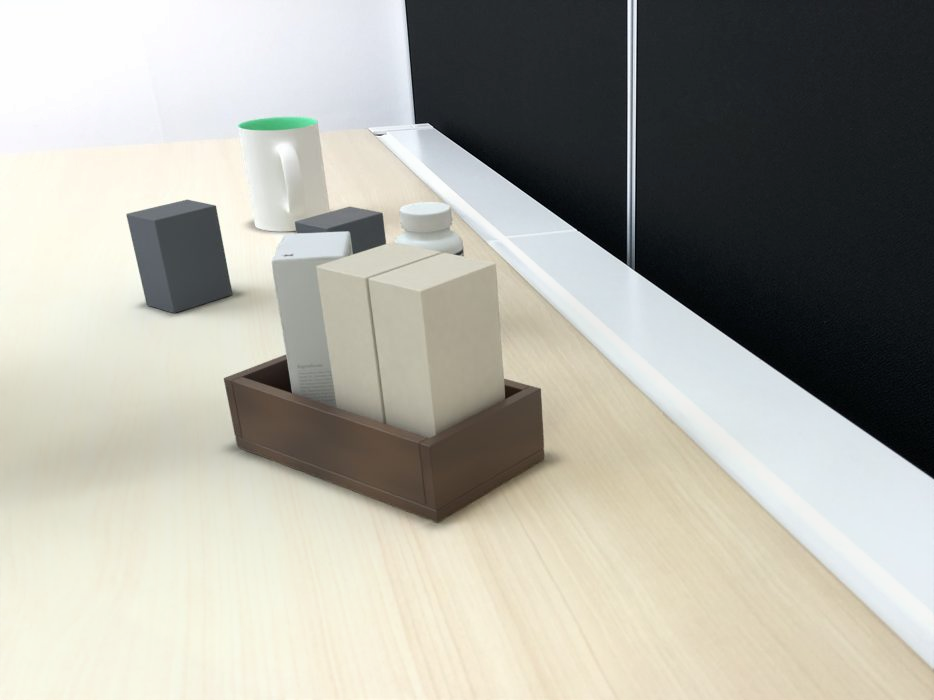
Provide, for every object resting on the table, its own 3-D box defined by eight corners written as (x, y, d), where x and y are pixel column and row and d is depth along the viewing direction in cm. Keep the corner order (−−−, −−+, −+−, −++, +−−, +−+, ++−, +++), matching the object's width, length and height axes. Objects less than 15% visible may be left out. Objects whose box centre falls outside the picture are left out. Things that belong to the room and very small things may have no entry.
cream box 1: (343, 456, 67) (315, 265, 62) (413, 422, 72) (392, 241, 66) (390, 473, 65) (365, 277, 60) (458, 437, 70) (441, 251, 64)
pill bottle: (390, 332, 89) (376, 212, 85) (425, 312, 94) (413, 197, 89) (448, 340, 87) (437, 218, 83) (481, 319, 92) (472, 202, 87)
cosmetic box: (370, 443, 69) (344, 256, 64) (300, 448, 68) (268, 260, 63) (374, 404, 74) (351, 229, 69) (309, 409, 74) (280, 232, 68)
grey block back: (146, 305, 96) (125, 213, 92) (205, 287, 100) (187, 199, 96) (174, 313, 94) (154, 220, 90) (233, 294, 98) (216, 205, 94)
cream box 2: (392, 474, 65) (367, 278, 60) (461, 437, 70) (444, 252, 64) (441, 491, 63) (420, 290, 58) (509, 453, 68) (496, 262, 62)
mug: (346, 234, 116) (333, 132, 111) (268, 244, 113) (250, 139, 108) (322, 209, 125) (309, 114, 120) (249, 217, 122) (232, 120, 117)
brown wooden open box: (236, 447, 71) (222, 377, 68) (350, 397, 78) (340, 332, 75) (437, 523, 62) (429, 446, 59) (545, 459, 69) (541, 388, 66)
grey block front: (308, 315, 93) (294, 221, 89) (361, 296, 97) (349, 206, 94) (341, 324, 91) (327, 228, 87) (393, 304, 95) (383, 212, 92)
